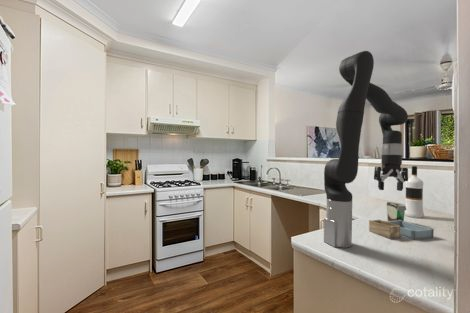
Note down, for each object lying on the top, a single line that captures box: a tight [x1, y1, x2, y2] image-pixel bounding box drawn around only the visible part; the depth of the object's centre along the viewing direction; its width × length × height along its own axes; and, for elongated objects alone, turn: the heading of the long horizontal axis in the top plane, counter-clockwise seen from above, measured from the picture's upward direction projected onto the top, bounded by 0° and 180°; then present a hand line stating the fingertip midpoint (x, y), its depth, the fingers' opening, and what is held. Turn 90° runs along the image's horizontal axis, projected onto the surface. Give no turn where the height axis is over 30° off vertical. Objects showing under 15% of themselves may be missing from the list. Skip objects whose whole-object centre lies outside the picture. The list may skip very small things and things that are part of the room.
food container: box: [386, 201, 406, 222], centre depth 118 cm, size 12×6×10 cm, turn 168°
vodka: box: [404, 165, 425, 219], centre depth 133 cm, size 9×9×30 cm
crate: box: [385, 220, 435, 241], centre depth 102 cm, size 12×15×4 cm
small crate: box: [368, 219, 401, 240], centre depth 100 cm, size 6×10×5 cm, turn 16°
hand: (390, 190), depth 100 cm, fingers open, 8 cm apart
